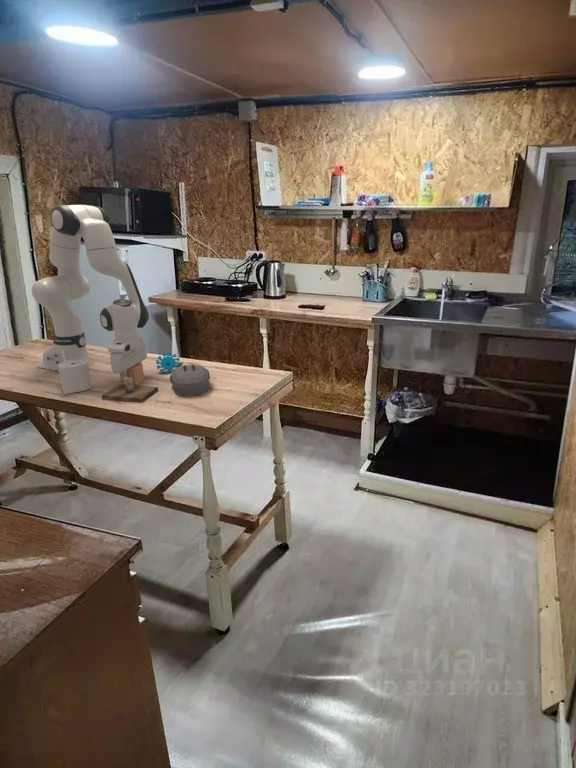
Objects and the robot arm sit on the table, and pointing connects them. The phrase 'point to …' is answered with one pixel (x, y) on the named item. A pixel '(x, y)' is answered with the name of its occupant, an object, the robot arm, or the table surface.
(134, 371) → the salmon orange block
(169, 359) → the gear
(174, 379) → the small grey backpack
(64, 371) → the toilet tissue
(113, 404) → the table surface
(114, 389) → the stub plate
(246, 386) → the table surface
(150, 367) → the table surface
